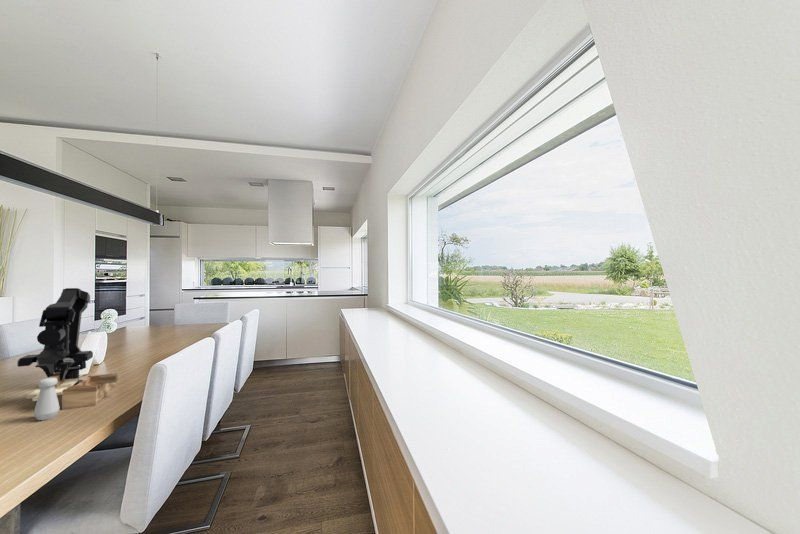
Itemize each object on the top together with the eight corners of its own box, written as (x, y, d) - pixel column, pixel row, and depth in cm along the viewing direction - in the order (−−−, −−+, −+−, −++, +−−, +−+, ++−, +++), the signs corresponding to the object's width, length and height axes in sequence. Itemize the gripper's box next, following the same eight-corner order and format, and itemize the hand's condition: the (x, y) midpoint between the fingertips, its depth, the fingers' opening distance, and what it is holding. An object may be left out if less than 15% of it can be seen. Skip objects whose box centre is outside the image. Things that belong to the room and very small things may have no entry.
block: (100, 382, 122) (101, 375, 122) (117, 380, 124) (117, 374, 124) (98, 384, 119) (98, 377, 119) (115, 382, 122) (115, 376, 122)
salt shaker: (41, 423, 102) (43, 382, 102) (28, 420, 103) (29, 380, 103) (64, 414, 108) (65, 376, 108) (51, 413, 109) (52, 375, 109)
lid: (48, 386, 123) (48, 370, 123) (78, 383, 127) (78, 368, 127) (21, 405, 108) (21, 387, 107) (56, 401, 112) (56, 384, 111)
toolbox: (88, 388, 131) (88, 371, 131) (116, 385, 135) (117, 369, 135) (61, 409, 112) (62, 390, 112) (95, 405, 116) (96, 386, 116)
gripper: (8, 346, 108) (6, 392, 108) (81, 342, 117) (80, 384, 117) (27, 339, 118) (26, 381, 118) (93, 336, 127) (92, 375, 127)
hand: (56, 381), depth 120 cm, fingers closed on lid, 2 cm apart
